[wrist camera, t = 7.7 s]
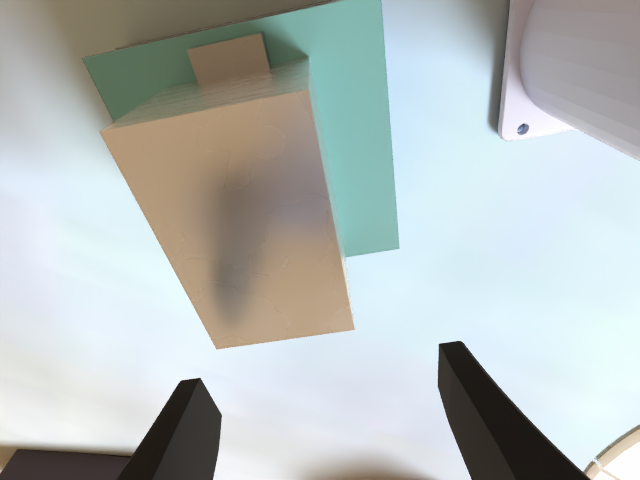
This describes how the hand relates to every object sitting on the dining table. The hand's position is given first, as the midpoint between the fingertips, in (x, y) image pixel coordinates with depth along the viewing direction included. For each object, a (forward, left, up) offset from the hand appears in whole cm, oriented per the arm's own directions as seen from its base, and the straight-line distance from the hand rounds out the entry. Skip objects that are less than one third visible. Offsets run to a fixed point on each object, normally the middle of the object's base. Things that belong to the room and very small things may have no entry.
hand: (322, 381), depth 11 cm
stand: (+1, -4, -10) cm, 11 cm away
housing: (+1, -4, -7) cm, 8 cm away
